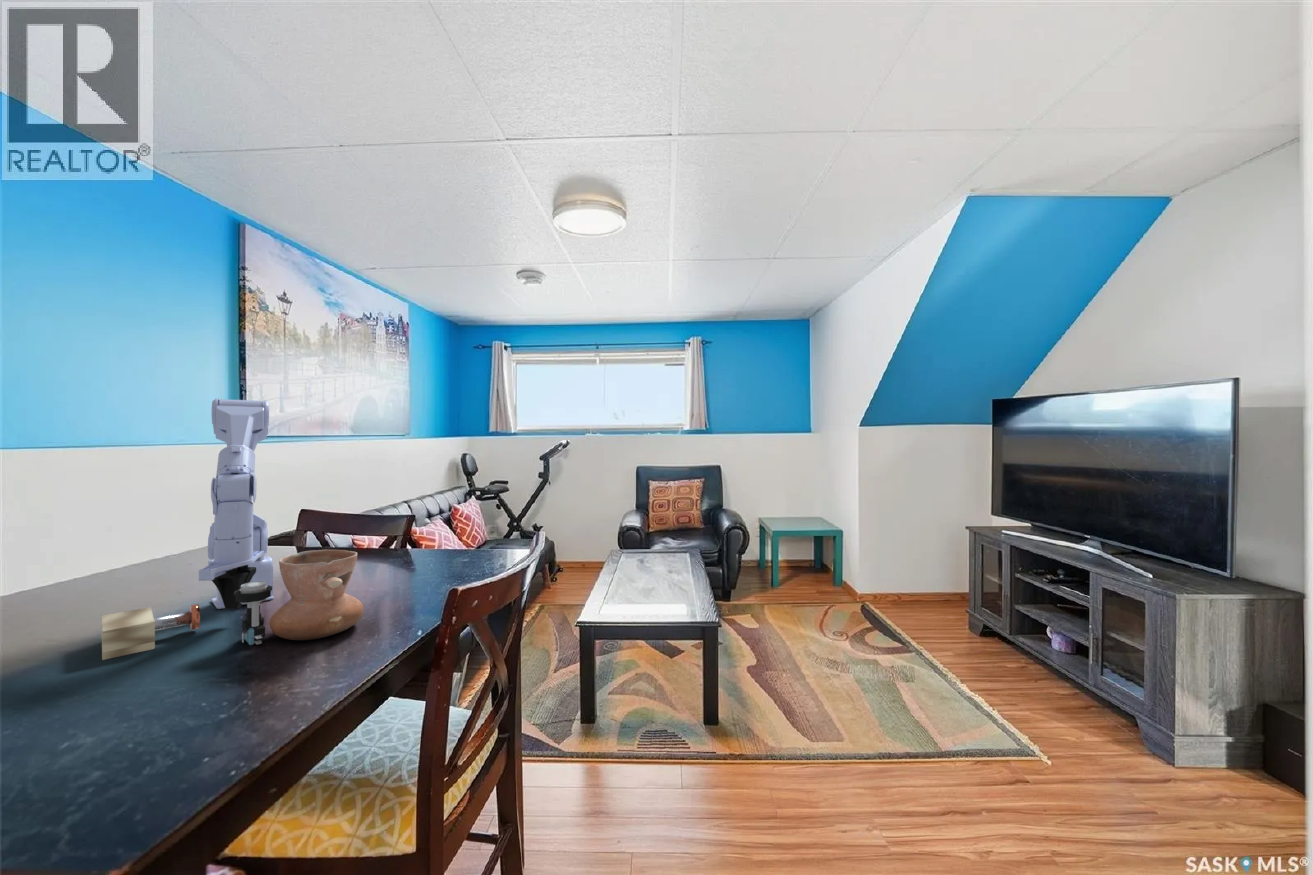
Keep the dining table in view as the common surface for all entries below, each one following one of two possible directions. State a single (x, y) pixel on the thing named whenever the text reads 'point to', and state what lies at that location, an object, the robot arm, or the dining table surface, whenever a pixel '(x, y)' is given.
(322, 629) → the ceramic jug
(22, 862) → the dining table surface
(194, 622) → the pin
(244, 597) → the push button
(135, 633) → the hitch block
